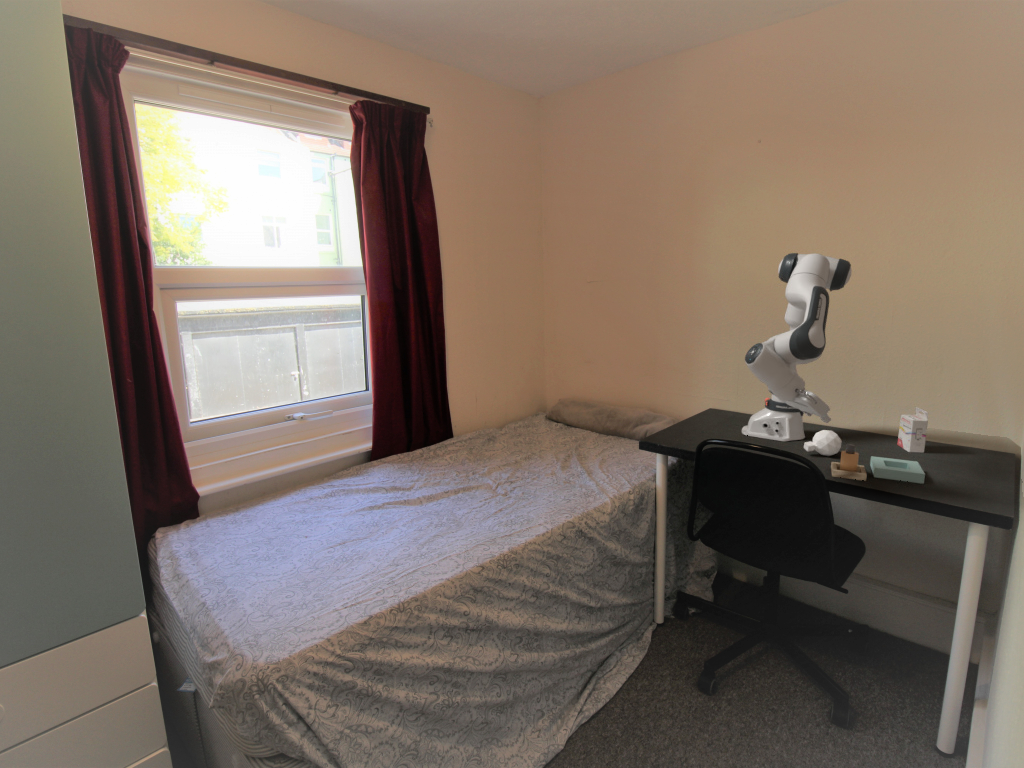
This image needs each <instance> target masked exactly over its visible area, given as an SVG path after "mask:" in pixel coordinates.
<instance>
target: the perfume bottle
mask: <svg viewBox="0 0 1024 768" xmlns="http://www.w3.org/2000/svg"><path fill="white" fill-rule="evenodd" d="M842 443H843V442H842V439H841V437H840V436H839V435H838V433H836V432H835V431H834V430H828V429H827V430H826V429H822V430H820V431H818V432H815V434H814V436H813V437H812V441H811V440H810V441H806V442H805V441H804V445H803V449H804V450H805V451H806V452H813V451H815V452H816V453H818V454H820V455H821V456H827V457H830V456H834V455H835V454H838V453H839V451H840V450H841V448H842Z"/></svg>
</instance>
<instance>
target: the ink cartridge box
mask: <svg viewBox="0 0 1024 768" xmlns="http://www.w3.org/2000/svg"><path fill="white" fill-rule="evenodd" d="M928 423H929V412H928V411H926V410H924V409H922V408H920V407H917V406H915V413H914V414H900V420H899V429H898V435H897V437H898V438H897V446H899V447H900V448H902V449H903V450H905V451H907V452H908V453H923V454H924V452H925V447H926V439H927V430H928Z"/></svg>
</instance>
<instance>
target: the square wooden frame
mask: <svg viewBox="0 0 1024 768" xmlns="http://www.w3.org/2000/svg"><path fill="white" fill-rule="evenodd" d="M830 462H831V465H830V469H831V471H830V472H831V477H835V478H840V477H841V478H842V479H849V480H855V479H856V481H862V480H864V482H866V481H867V471H866V467H865V465H860V464H858V467H857V472H851V471H843V470H840V462H838V461H837V462H836V461H830Z"/></svg>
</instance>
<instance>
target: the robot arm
mask: <svg viewBox="0 0 1024 768" xmlns="http://www.w3.org/2000/svg"><path fill="white" fill-rule="evenodd" d="M851 266H852V265H851V263H850V261H849V260H846V259H843V258H837V257H832V256H827V255H823V254H821V253H815V252H813V253H808V254H807V253H798V252H792V253H791V252H790V253H788V254H786V255H785V256H783V258H782V259H781V261H780V262H779V264H778V269H777V272H778V278H779V280H780V282H784V283H785V284H786V287H785V291H784V294H785V296H784V297H785V298H786V300H787V301H786V302H788V303H787V307H786V309H785V315H784V322H785V323H786V324H787V325H788V326H789V330H788V331H785V332H782V333H778V334H776V335H774V336H771V337H769V338H768V339H766V340H765V341H763V342H757V343H755V344H754V345H752V346H751V347H750V348H749V349H748V350H747V352H746V354H745V357H744V362H745V364H746V366H747V368H748V370H750V372H751V373H752V374H753V375H754V376H755V377H756V378H757V379H758V380H759V381H760V382H762V383H764V384H765V385H766V387H767V390H768V392H769V393H770V394H771V396H770V397H771V398H770V397H765V399H764V402H765V403H764V408H762V409H760V410H759V411H757V412H755V413H753V414H752V415H751V416H750V417H749V420H748V422H747V425H743V427H741V434H742V435H745V436H747V435H748V437H752V438H754V437H755V438H760V439H765V440H771V441H773V440H774V441H779V442H789V441H790V442H791V441H798V440H804V439H805V438H806V436H805V431H804V419H803V416H804V415H806V416H807V417H812V415H814V416H815V417H820V420H821V421H822V422H823V423H826V424H829V423H830V422H831V421H832V419H831V417H830V416H829V414H828V413H829V412H830V411H831V408H830V406H829V405H828V404H827V403H826V402H824V400H822V399H821V398H820V397H819V396H818V395H816V394H815V393H814V392H812V391H810V390H807V389H806V388H805V387H806V382H805V380H804V379H803V378H802V377H801V376H800V375H799V374H798V371H797V365H806V364H811V363H813V362H815V361H817V360H819V359H820V358H821V356H822V355H823V353H824V350H825V348H826V344H827V343H826V342H827V341H826V340H827V339H826V327H827V320H828V314H829V308H830V294H829V292H832V291H839V290H842V289H843V288H844V287H845V286H846V285H847V284H848V283H849V281H850V279H851V278H852V277H851V276H852V273H853V271H852V267H851ZM827 290H829V292H828V291H827Z"/></svg>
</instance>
